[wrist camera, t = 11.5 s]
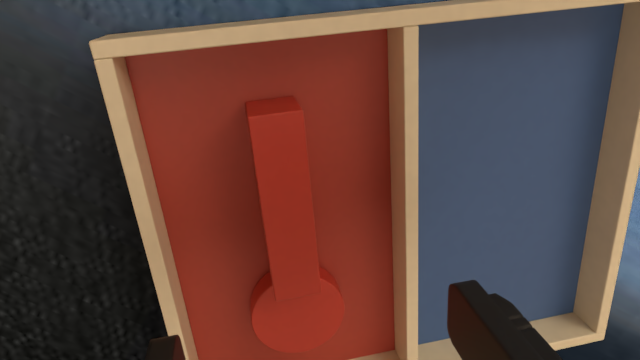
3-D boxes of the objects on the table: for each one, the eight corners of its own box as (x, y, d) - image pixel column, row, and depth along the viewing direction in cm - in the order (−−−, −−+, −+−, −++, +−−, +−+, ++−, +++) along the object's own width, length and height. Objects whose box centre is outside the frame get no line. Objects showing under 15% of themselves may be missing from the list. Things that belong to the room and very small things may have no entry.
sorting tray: (106, 34, 17) (88, 41, 15) (625, -18, 20) (678, -19, 18) (196, 388, 24) (193, 431, 22) (571, 310, 27) (604, 340, 25)
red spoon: (213, 105, 18) (212, 121, 16) (322, 91, 19) (336, 105, 16) (256, 344, 23) (260, 383, 21) (342, 327, 24) (354, 363, 21)
